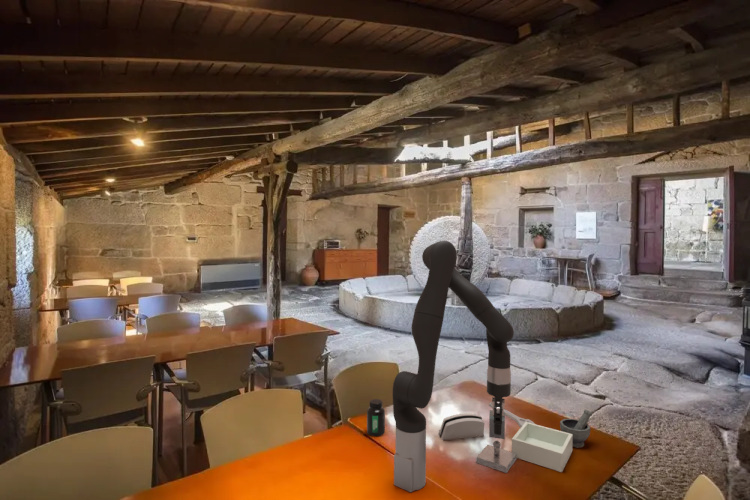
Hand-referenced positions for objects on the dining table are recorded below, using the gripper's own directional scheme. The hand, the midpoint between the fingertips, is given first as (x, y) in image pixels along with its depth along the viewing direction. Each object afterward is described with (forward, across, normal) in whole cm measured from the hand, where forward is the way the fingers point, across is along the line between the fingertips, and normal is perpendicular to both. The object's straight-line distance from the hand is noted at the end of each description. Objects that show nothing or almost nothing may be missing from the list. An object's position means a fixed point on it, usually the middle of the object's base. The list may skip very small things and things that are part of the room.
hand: (497, 430), depth 136 cm
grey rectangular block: (+2, 0, 0) cm, 2 cm away
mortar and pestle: (+10, -22, +27) cm, 37 cm away
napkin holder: (+11, -14, -13) cm, 22 cm away
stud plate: (+11, -1, 0) cm, 11 cm away
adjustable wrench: (+11, -38, +5) cm, 40 cm away
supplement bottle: (+11, -8, -44) cm, 46 cm away
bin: (+10, -10, +15) cm, 21 cm away
